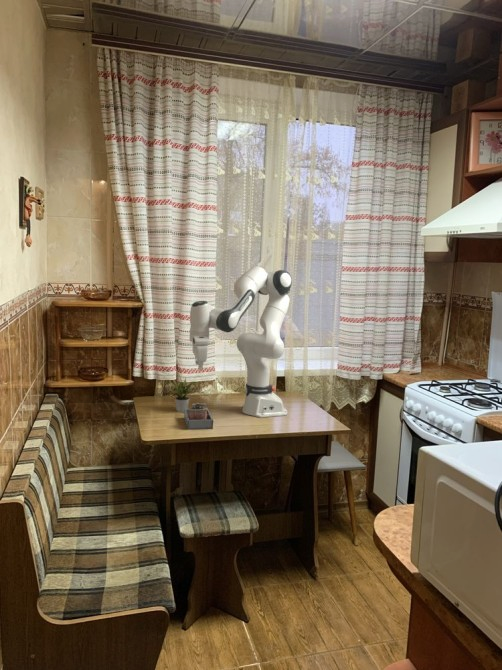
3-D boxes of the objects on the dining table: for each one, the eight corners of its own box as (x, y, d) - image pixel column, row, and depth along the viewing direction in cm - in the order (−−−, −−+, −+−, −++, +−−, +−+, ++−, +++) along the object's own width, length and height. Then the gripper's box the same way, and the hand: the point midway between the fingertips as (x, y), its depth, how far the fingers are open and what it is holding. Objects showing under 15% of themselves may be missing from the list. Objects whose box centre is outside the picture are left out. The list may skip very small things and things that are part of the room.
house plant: (200, 415, 251) (201, 382, 249) (171, 416, 247) (172, 383, 244) (194, 406, 265) (195, 374, 262) (167, 407, 260) (167, 375, 258)
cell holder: (207, 417, 248) (208, 408, 248) (212, 428, 233) (213, 419, 233) (184, 418, 246) (184, 409, 245) (187, 429, 231) (187, 420, 230)
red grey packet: (189, 426, 233) (190, 404, 231) (188, 423, 236) (188, 402, 234) (207, 425, 235) (208, 403, 234) (205, 422, 238) (206, 401, 237)
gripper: (189, 333, 245) (189, 361, 248) (195, 342, 226) (195, 373, 229) (202, 332, 247) (202, 361, 249) (210, 341, 227) (209, 372, 230)
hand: (199, 367), depth 239 cm, fingers open, 8 cm apart
